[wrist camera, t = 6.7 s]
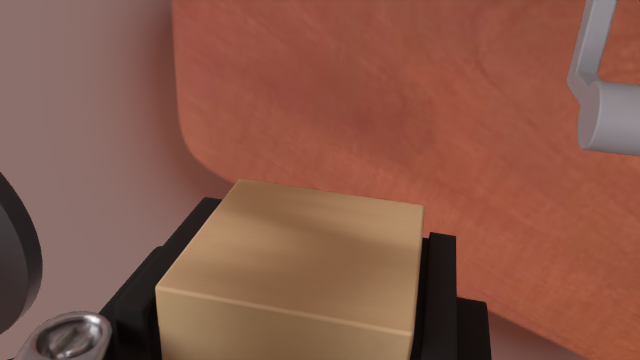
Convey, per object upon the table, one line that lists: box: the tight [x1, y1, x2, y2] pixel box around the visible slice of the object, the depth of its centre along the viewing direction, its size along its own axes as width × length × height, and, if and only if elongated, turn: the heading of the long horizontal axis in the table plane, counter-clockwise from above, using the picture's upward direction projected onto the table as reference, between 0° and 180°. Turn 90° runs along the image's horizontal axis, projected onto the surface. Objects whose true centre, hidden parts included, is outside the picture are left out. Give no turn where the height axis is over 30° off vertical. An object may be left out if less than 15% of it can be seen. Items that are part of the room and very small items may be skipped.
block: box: [155, 179, 425, 360], centre depth 11 cm, size 4×4×4 cm
